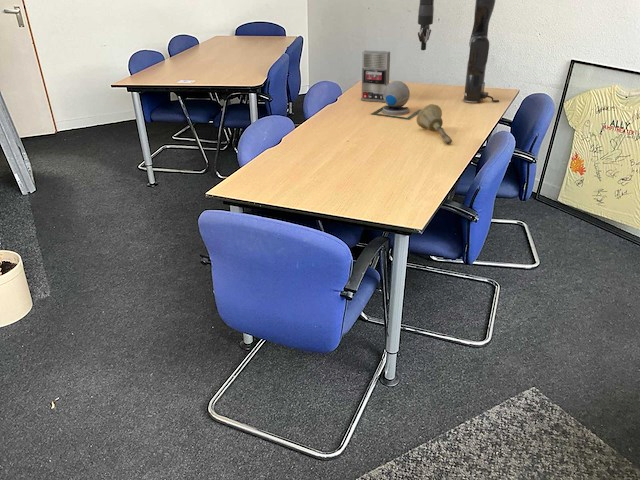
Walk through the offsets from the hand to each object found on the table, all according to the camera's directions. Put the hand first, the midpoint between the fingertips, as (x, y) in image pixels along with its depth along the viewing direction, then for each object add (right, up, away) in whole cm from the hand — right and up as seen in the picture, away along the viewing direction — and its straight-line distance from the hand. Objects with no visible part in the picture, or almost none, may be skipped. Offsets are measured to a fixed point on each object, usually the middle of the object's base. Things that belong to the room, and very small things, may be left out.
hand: (423, 49), depth 278 cm
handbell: (-1, -54, -44) cm, 69 cm away
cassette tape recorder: (-24, -24, +10) cm, 35 cm away
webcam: (-16, -35, -9) cm, 39 cm away
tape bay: (-15, -35, -10) cm, 39 cm away
